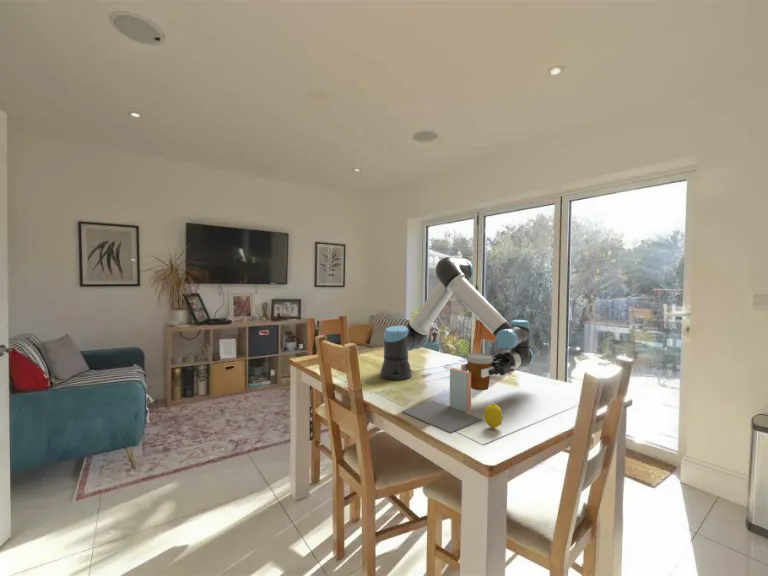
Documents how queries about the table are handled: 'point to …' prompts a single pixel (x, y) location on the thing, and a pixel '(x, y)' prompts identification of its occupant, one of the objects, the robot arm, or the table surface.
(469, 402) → the tile
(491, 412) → the lemon
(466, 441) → the table surface
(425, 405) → the mat
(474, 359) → the disposable coffee cup
